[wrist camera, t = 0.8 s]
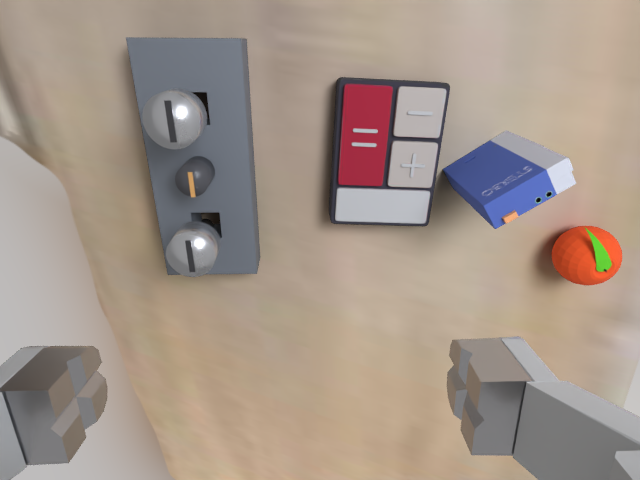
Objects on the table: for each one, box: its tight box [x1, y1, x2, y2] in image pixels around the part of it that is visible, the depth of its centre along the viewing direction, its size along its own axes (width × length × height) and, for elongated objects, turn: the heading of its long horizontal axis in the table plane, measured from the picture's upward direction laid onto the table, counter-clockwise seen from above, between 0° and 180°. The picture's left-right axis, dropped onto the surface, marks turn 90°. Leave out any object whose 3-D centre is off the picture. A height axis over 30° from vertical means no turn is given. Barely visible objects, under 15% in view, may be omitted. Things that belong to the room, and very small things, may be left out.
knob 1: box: [142, 88, 207, 149], centre depth 36 cm, size 4×4×7 cm
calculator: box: [329, 77, 450, 226], centre depth 44 cm, size 11×4×15 cm
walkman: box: [443, 130, 576, 229], centre depth 41 cm, size 8×3×12 cm, turn 123°
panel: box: [126, 38, 260, 275], centre depth 43 cm, size 24×10×4 cm, turn 0°
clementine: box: [552, 226, 622, 285], centre depth 48 cm, size 8×7×7 cm
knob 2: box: [166, 219, 221, 277], centre depth 41 cm, size 4×4×7 cm
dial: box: [175, 156, 215, 197], centre depth 40 cm, size 3×3×4 cm
